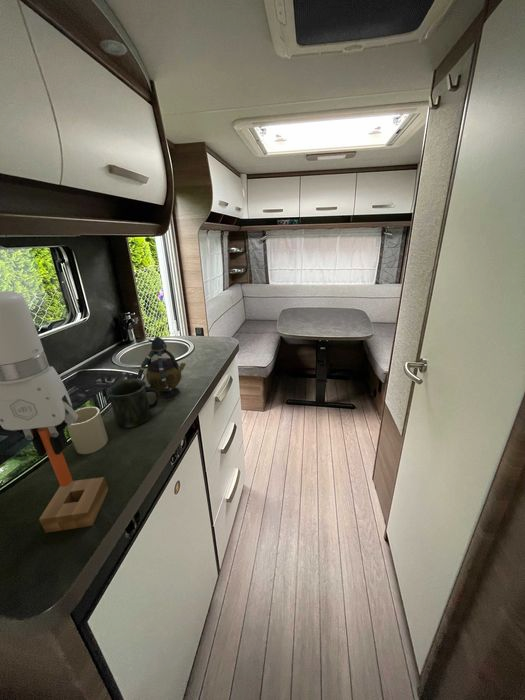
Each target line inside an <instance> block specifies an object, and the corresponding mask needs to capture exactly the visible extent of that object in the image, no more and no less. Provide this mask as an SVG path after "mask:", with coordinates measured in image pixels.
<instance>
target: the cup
mask: <svg viewBox="0 0 525 700" xmlns="http://www.w3.org/2000/svg"><path fill="white" fill-rule="evenodd" d="M74 411H75V412H76V413H77V414H78V415H79V418H78V420H77V421H76V422H75V423H73V424H71V425H68V426H66V429H67V431H68V434H69V437H70V439H71V442H72V445H73V447H74V450H75V451H76V453H77V454H79V455H88V454H89V455H90V454H93V453H95V452H98V451H99V450H102V449H103V448H104V447H105V446H106V445H107V443H108V442H109V436H108V433H107V429H106V426H105V423H104V419H103V416H102V413H101V410H100V408H98V407H97V406H86V407H81V408H79V409H76V410H74Z"/></svg>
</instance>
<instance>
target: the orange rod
mask: <svg viewBox="0 0 525 700" xmlns="http://www.w3.org/2000/svg"><path fill="white" fill-rule="evenodd" d="M37 431H38V433H39V435H40V438H41V440H42V443H43V445H44V448H45V450H46V455H47V457H48V459H49V463H50V464H51V467H52V469H53V472H54V474H55V476H56V479H57V481H58V484H59V487H60V486H62V487H64V486H67V485H69V484H70V483H71V482H72V481H73V477H72V475H71V471H70V469H69V466H68V464H67V461H66V458H65V456H64V452H63V451H62V452H61V453H60V454H58V455H56V454H55V453H54V451H53V448H52V446H51V443H50V441H49V439H50V437H51V434H50V432H49V429H48V427H43V428H38V429H37Z"/></svg>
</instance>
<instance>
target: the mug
mask: <svg viewBox="0 0 525 700" xmlns="http://www.w3.org/2000/svg"><path fill="white" fill-rule="evenodd" d="M145 386H147V382H146V381H145V380H143V379H137V378H129V379H124V380H120V381H117V382H115V383H113V384H111V385H110V386H108V388H107V389H106V392H105V393H106V396H108V398H109V401H110V405H111V409H112V412H113V415H114V416H113V417H114V419H115V423H116V425H118V426H119V427H120V428H124V429H126V428H127V429H130V428H135V427H138V426H140V425H143V424H145V423H147V421H148V420H149V419H150V417H151V414H152V411H151V409H153V408H155V407H156V406H157V405H158V404H159V402H160V401H159V392H158V390H157V389H155V388H147V389H145ZM147 393H154V394H156V395H157V399H156V398H155V401H154V402H153V403H151V404H150V403H149V399H148V394H147Z"/></svg>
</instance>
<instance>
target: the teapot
mask: <svg viewBox="0 0 525 700" xmlns="http://www.w3.org/2000/svg"><path fill="white" fill-rule="evenodd" d="M147 341H149V342H150V343H151V345H150V347H151V348H150V349H151V350H150V351H149V353H148V355H147V356H146V357H145V358H144V359H143V361H142V363H141V365H140V367H139V369H138V373H137V377H136V379H141V380H143V379H142V377H143V374H144V371H145V368H146V367H147V368H146V375H145V377H146V381H147V383H148V385H149V386H147V385H146V386H145V389H147V388H155V389H157V390H158V392H159V401H158V402H169V401H173V400H175V399H177V398H178V397H179V396H180V395H181V389H180V388H178V387H177V386H178V385H179V384H180V382H181V380H182V372H183V371H184V369H185V367H186V363H185V362H181V363H180V364H179V363H178V362H177V359H176V358H175V356H174V355H173V354H172V353H171V351H169V350H167V349H168V346H167V344H166V342H165V340H164V339H162V338H161V337H159V336H156V337H154V338H153V340H152V339H147ZM164 354H166V355H167V356H168V357H163V356H162V355H164ZM155 355H156V356H157V359H155V360H153V361H152V358H153V357H154V356H155ZM154 394H155V395H154V398H155V400H156V399H157V395H156V393H154ZM176 397H177V398H176ZM174 398H175V399H174ZM168 400H169V401H168Z"/></svg>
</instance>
